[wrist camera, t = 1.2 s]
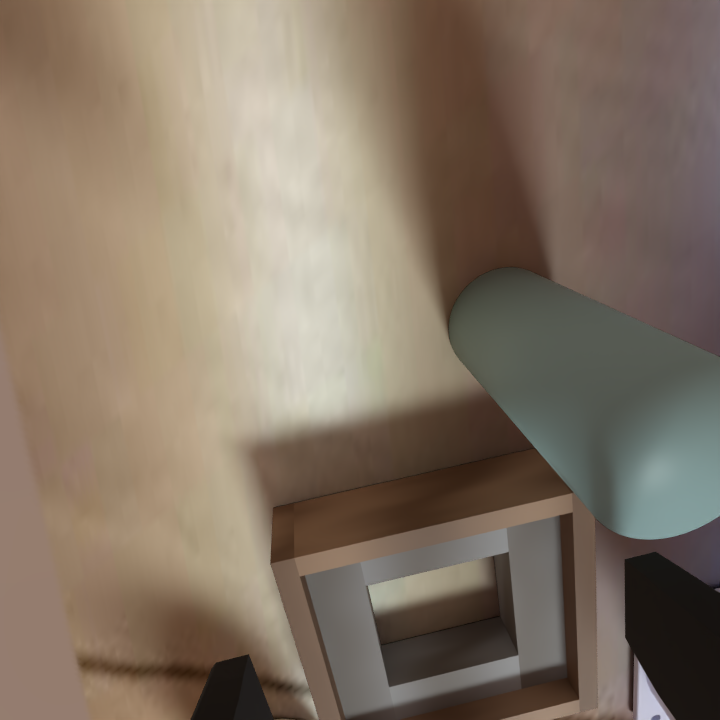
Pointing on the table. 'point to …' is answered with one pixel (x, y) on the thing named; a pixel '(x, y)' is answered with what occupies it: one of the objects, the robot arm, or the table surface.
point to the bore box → (433, 551)
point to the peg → (599, 399)
